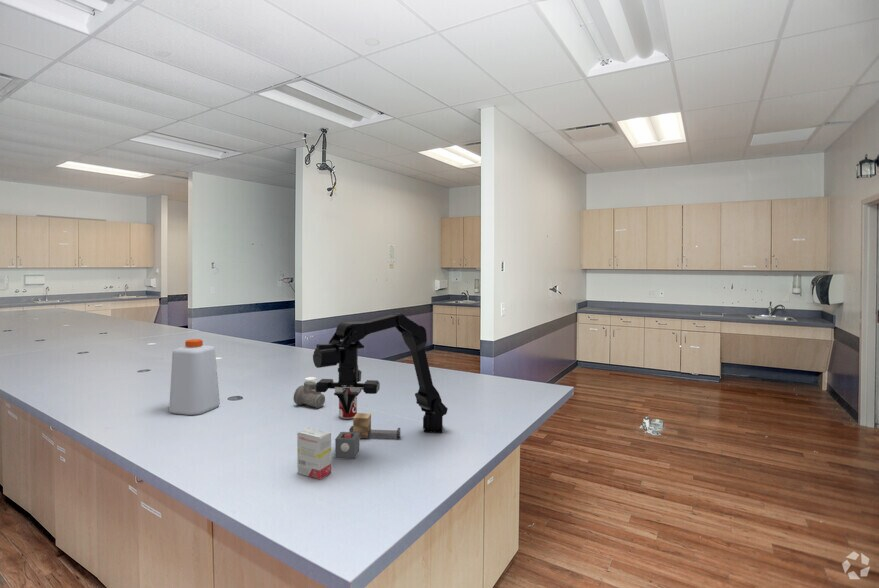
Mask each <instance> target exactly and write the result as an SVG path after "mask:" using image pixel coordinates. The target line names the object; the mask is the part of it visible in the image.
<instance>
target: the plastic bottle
mask: <svg viewBox="0 0 879 588" xmlns="http://www.w3.org/2000/svg"><path fill="white" fill-rule="evenodd" d="M203 342H204V341H203V340H202V339H201V338H200V339H199V338H197V339H196V338H195V339H194V338H193V339H187V340H185V343H184V345H185V346H180V347H177V348H174V349H173V351H172V353H171V354H172V355H171V356H172V358H171V371H170V372H171V373H170V391H169V407H168V410H169V412H170V413H171V414H175V415H187V416H197V415H202V414H204V413H207V412H209V411H211V410H214V409H216V408H218V407H219V406H220V404H221V403H220V402H221V401H220V400H221V399H220V388H219V379H218V378H219V377H218V369H217V366H218V365H217V358H216V357H217V355H216V347H214V346H213V345H204V344H203Z"/></svg>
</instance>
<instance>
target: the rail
mask: <svg viewBox="0 0 879 588" xmlns="http://www.w3.org/2000/svg"><path fill="white" fill-rule="evenodd" d="M348 432H353V425H352V426H350V427H349V431H348ZM400 438H401V427H398V428H397V430H396V429H395V430H394V429H393V430H391V429H371V430H369V432H368V438H367V439H372V440H378V439H379V440H397V441H399V440H400Z"/></svg>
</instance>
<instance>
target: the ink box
mask: <svg viewBox="0 0 879 588" xmlns="http://www.w3.org/2000/svg"><path fill="white" fill-rule="evenodd" d="M296 433H297V434H296V435H297V442H296V443H297V449H296V451H297V454H296V455H297V463H296V464H297V474H298V475H299V474H300V475H303V476H307V477H309V478H310V477H311V478H314V479H317V480H322V479H324V478H325V477H327V476H328V475H330V474H331V473H332V433H331V432H329V431H324V430H320V429H316V428H313V427H312V428H311V427H308V428H306V429H302V430H300V431H298V432H296Z"/></svg>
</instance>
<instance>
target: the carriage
mask: <svg viewBox="0 0 879 588" xmlns="http://www.w3.org/2000/svg"><path fill="white" fill-rule="evenodd" d="M352 420H353V421H352V423H353V424H352V426H353V432H360V439H369V438H368V432H369V430H372V413H371V412H370V413H368V412H367V413H363V412H361V413H360V412H357V414H356V415H355V416H354V418H352Z"/></svg>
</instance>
